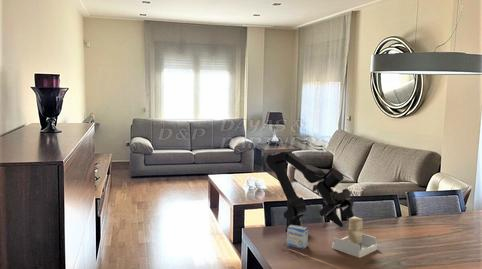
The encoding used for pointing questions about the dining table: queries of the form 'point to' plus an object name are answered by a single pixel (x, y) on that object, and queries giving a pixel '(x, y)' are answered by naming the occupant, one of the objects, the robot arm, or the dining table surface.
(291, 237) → the medicine box
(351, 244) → the white open box
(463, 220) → the dining table surface
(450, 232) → the dining table surface
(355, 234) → the birch block
